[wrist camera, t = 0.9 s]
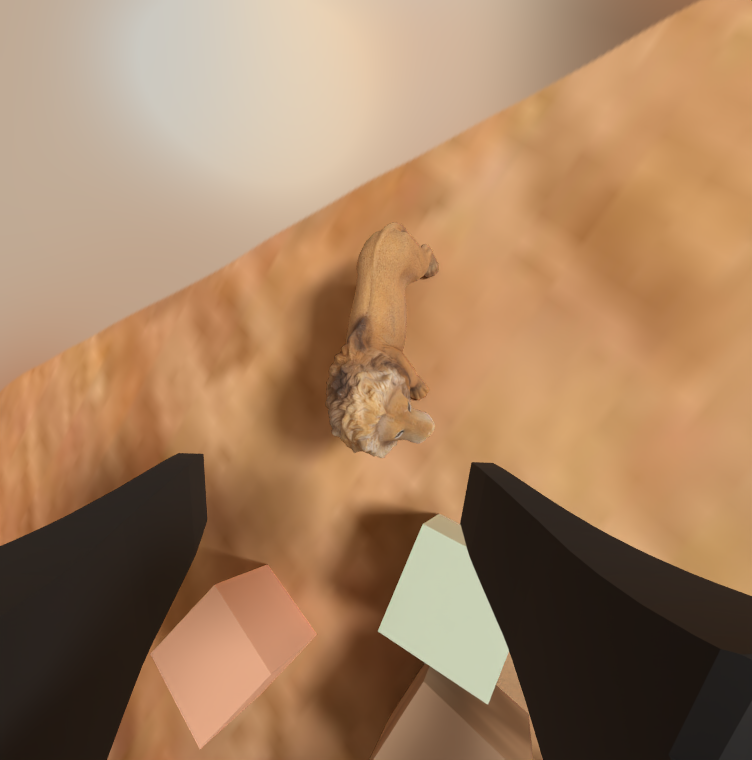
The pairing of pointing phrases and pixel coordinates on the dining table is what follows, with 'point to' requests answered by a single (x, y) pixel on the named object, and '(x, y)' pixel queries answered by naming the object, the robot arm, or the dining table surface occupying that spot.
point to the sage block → (446, 611)
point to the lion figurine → (380, 350)
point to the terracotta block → (231, 649)
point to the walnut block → (453, 724)
